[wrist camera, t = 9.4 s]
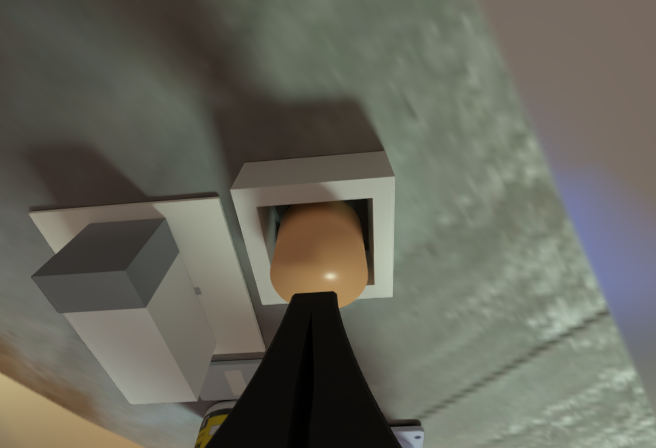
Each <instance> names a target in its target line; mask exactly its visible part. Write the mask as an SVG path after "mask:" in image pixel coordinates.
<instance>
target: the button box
mask: <svg viewBox="0 0 656 448" xmlns="http://www.w3.org/2000/svg"><path fill="white" fill-rule="evenodd" d="M230 191H231V195H232V199H233V202H234V206H235V209H236V213H237V216H238V220H239V224H240V227H241V231H242V234H243V238H244V241H245V245H246V249H247V252H248V256H249V259H250V263H251V266H252V270H253V274H254V277H255V281H256V284H257V288H258V291H259V295H260V299H261V302H262V305H270V304H286V303H288V302H286V301H285V300H284V299H283V298H281V297H280V296H279V295H278V294H277V292H276V291H275V289H274V287H273V286H272V283H271V279H270V268H271V263H272V259H273V254H274V250H275V245H276V241H277V236H278V231H277V226H276V222H275V217H274V212H273V207H272V206H274V205H287V204H300V203H313V202H326V201H339V200H351V199H364V198H367V200H368V233H369V250H367V251H365V255H366V262H367V269H368V280H367V284H366V287H365V289H364V290H363V292H362V293H361V294H360V296H359V297H358V298H357V299H366V298H382V297H393V251H394V202H395V175H394V172H393V170H392V167H391V165H390V162H389V159H388V157H387V154H386V152H385V151H378V152H366V153H354V154H342V155H331V156H319V157H307V158H295V159H284V160H272V161H260V162H248V163H244V165H243V166H242V168H241V170H240V172H239V174H238V176H237V178H236V180H235V181H234V183H233V185H232V187H231V189H230Z"/></svg>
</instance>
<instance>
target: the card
mask: <svg viewBox="0 0 656 448" xmlns="http://www.w3.org/2000/svg"><path fill="white" fill-rule="evenodd" d="M262 360H263V359H254V360H235V361H217V362H210V365H209V368H208V371H207V374H206V377H205V380H204V383H203V386H202V389H201V392H200V397H201V399H202V401H212V400H232V399H239V398H240V396H241V395H242V393H243V392H244V390H245V388H246V387H247V385H248V384H249V382H250V380H251V379H252V377H253V375H254V373H255V372H256V370H257V368H258V366H259V365H260V363H261V361H262Z"/></svg>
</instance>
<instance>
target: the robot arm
mask: <svg viewBox="0 0 656 448" xmlns="http://www.w3.org/2000/svg"><path fill="white" fill-rule="evenodd" d="M423 440H424V429H423V427H421V426H402V427H390V426H389V424H388V422H387V421H386V419H385V417H384V415H383V414H382V412H381V410H380V408H379V406H378V404H377V402H376V400H375V399H374V397H373V395H372V393H371V391H370V389H369V387H368V385H367V382H366V380H365V378H364V376H363V374H362V372H361V370H360V367H359V365H358V363H357V360H356V358H355V356H354V353H353V351H352V348H351V345H350V343H349V340H348V338H347V335H346V332H345V329H344V326H343V323H342V319H341V316H340V311H339V307H338V298H337V293H335V292H334V291H326V292H311V293H295V294H294V295H293V296H292V297H291V300H290V303H289V306H288V308H287V311H286V313H285V315H284V318H283V320H282V322H281V324H280V326H279V329H278V331H277V333H276V335H275V337H274V339H273V341H272V343H271V344H270V346H269V348H268V350H267V352H266V354H265V356H264V358H263V360H262V361H261V363H260V365H259V366H258V368H257V370H256V372H255V373H254V375H253V377H252V379H251V380H250V382H249V384H248V385H247V387H246V388H245V390H244V392H243V393H242V395H241V396H240V398H239V399H238V401H237V402H236V404H235V405H234V407H233V408H232V410H231V411H230V413H229V414H228V416H227V417H226V418H225V420H224V421H223V423H222V424H221V425H220V427H219V428H218V429H217V431H216V432H215V433H214V435H213V436H212V438H211V439H210V440H209V442H208V443H207V444H206V446H205V447H204V448H422V447H423Z"/></svg>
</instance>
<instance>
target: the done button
mask: <svg viewBox="0 0 656 448" xmlns="http://www.w3.org/2000/svg"><path fill="white" fill-rule="evenodd" d="M270 279H271V283H272V286H273V287H274V289H275V291H276V292H277V294H278V295H279V296H280V297H281V298H283V299H284V300H285V301H286V302H288V303H290V300H291V297H292V296H293V295H294V294H295V293H311V292H326V291H334V292H335V293H337V298H338V307H339V308H341V307H344V306H346V305H348V304H350V303H351V302H353V301H354V300H355V299H357V298H358V297H359V296H360V294H361V293H362V292H363V290H364V289H365V287H366V284H367V280H368V269H367V262H366V255H365V249H364V242H363V235H362V228H361V222H360V219H359V217H358V215H357V213H356V212H355V211H354V209H353V208H352V207H351V206H350V205H348V204H347V203H345V202H344V201H342V200H339V201H326V202H313V203H300V204H292V205H291V206H290V207H289V208H288V209H287V210H286V212H285V213H284V215H283V217H282V219H281V223H280V227H279V232H278V236H277V241H276V245H275V250H274V254H273V259H272V263H271V268H270Z"/></svg>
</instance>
